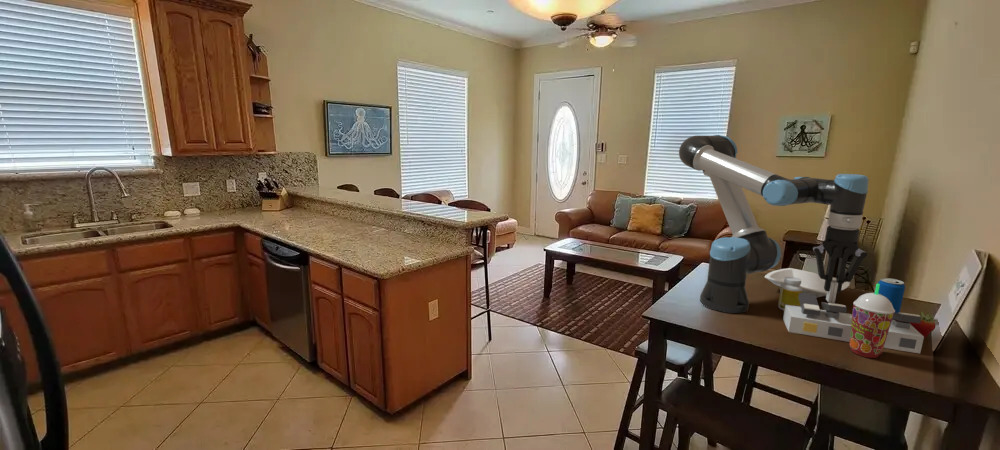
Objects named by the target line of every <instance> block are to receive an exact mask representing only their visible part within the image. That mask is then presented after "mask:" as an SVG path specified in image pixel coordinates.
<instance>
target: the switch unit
mask: <svg viewBox="0 0 1000 450" xmlns="http://www.w3.org/2000/svg"><path fill="white" fill-rule="evenodd" d="M782 317H783V319H782V320H783V323H784V324H785V327H786V329H787V331H788V332H789V333H793V334H800V335H803V336H804V335H805V336H811V337H817V338H824V339H829V340H834V341H842V342H847V343H849V342H850V332H851V322H852V313H847V312H846V313H839V312H832V311H828V310H825V309H820V315H819V316H814V315H808V314H803V313H802V309H801V306H800V307H798V306H791V305H785V310H784V311H783V316H782ZM924 339H925V338H924V336H923V335H921V334H920V333H919V332H918V331H917V330H916V329H915V328H914V327H913V326H912V325H911V324H910V322H906V321H900V320H895V319H892V321H891V325H890V328H889V331H888V335H887V338H886V341H885V344H884V348H883V349H888V350H889V349H890V350H896V351H901V352H908V353H914V354H921V351H922V348H923V343H924Z"/></svg>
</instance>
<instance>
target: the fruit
mask: <svg viewBox="0 0 1000 450" xmlns="http://www.w3.org/2000/svg"><path fill="white" fill-rule="evenodd" d="M916 315H918V314H916ZM920 317H921V323H913V322H909V323H910V324H911V325H912V326H913V327H914V328H915V329H916V330H917V331H918V332H919V333H920V334H921V335H923V336H924V339H925V338H927V337H928V335H930V334H931V333H932V332H933V331H934V330H935V329H936V326H937V325H936V323H935V322H937V319H933V317H934V315H933V314H932V315H930V313H927V314H926V315H925V313H924V312H923V310H922V311H920Z"/></svg>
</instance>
